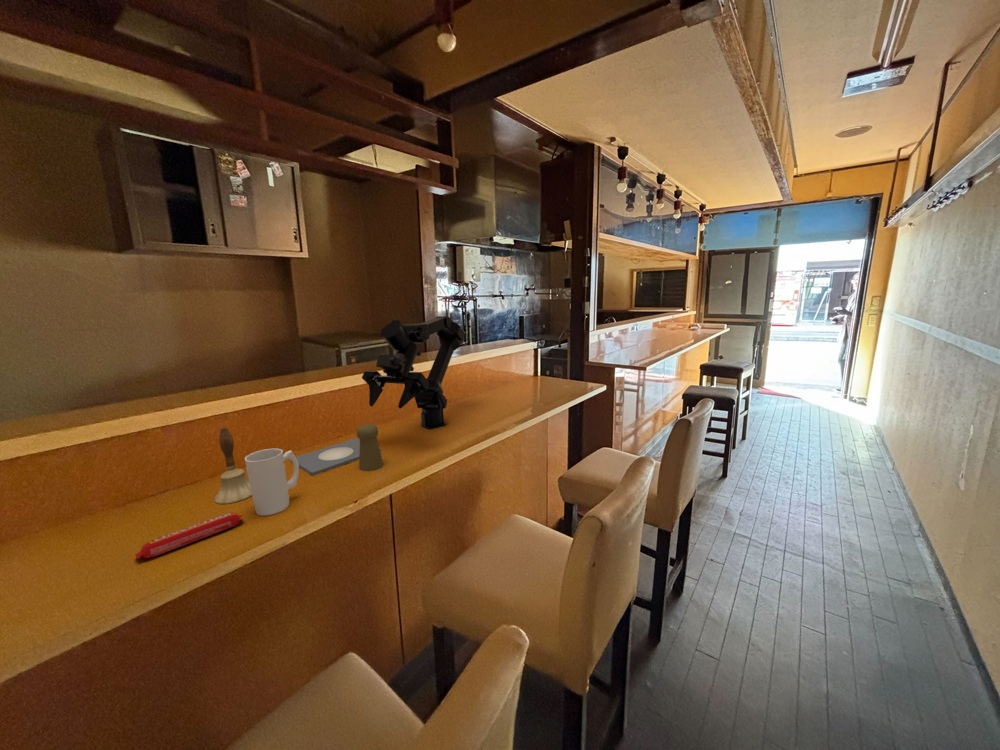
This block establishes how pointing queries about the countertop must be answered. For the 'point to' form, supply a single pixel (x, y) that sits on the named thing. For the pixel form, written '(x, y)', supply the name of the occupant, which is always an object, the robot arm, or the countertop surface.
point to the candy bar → (188, 535)
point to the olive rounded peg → (369, 448)
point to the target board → (330, 457)
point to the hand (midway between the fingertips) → (384, 406)
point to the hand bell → (231, 474)
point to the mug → (270, 479)
